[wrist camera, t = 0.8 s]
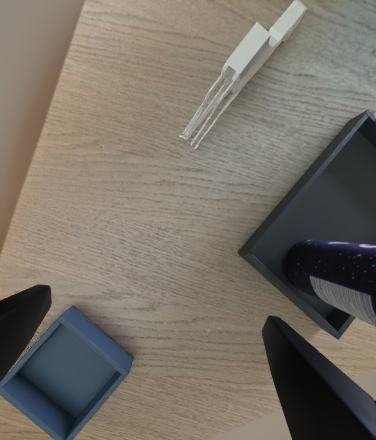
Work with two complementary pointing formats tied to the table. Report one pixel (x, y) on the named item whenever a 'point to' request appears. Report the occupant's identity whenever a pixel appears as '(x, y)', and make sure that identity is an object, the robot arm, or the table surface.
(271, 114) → the table surface
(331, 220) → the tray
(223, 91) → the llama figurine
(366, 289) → the beverage can
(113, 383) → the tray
